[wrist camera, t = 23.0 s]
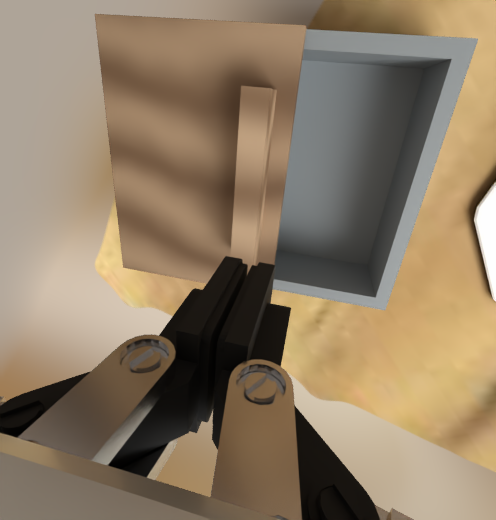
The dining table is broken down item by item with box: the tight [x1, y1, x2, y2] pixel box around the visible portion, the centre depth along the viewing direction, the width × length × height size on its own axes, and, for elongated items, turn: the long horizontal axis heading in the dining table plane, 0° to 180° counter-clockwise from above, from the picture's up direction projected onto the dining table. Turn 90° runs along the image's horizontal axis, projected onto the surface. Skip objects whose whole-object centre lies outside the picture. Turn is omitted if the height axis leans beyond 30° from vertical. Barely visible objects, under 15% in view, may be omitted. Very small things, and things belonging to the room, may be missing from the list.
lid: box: [95, 14, 307, 283], centre depth 27 cm, size 22×16×4 cm
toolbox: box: [272, 29, 478, 310], centre depth 31 cm, size 22×23×8 cm
